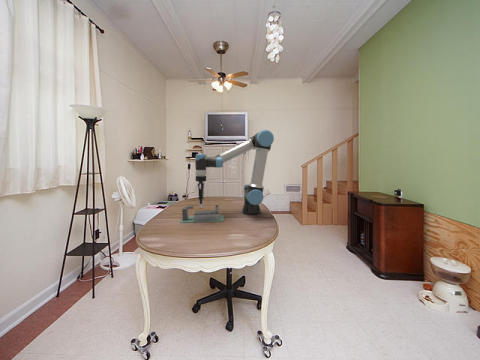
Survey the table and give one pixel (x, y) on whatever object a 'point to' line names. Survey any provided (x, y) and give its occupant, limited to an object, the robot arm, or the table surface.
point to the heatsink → (206, 215)
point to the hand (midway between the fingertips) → (201, 207)
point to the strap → (205, 208)
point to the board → (191, 220)
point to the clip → (186, 212)
